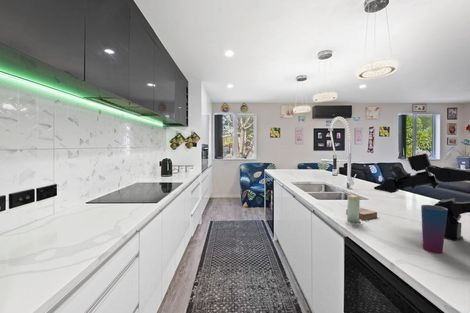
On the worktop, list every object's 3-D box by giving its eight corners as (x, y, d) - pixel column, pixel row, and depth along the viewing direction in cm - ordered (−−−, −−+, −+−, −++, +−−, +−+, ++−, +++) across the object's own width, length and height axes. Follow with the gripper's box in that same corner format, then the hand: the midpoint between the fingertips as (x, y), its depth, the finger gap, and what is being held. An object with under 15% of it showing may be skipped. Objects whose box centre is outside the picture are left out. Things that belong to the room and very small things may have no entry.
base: (377, 217, 112) (377, 212, 112) (363, 219, 108) (363, 214, 108) (359, 211, 121) (359, 207, 121) (346, 213, 117) (346, 209, 117)
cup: (419, 244, 81) (420, 203, 80) (445, 249, 77) (446, 206, 76) (419, 250, 76) (421, 207, 75) (447, 256, 71) (449, 211, 71)
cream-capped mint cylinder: (361, 221, 106) (362, 196, 106) (354, 222, 104) (354, 197, 103) (352, 217, 111) (352, 194, 110) (344, 219, 109) (345, 195, 108)
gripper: (415, 161, 103) (379, 170, 115) (402, 163, 91) (364, 172, 103) (425, 184, 100) (387, 191, 112) (412, 189, 89) (372, 196, 101)
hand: (378, 187), depth 107 cm, fingers open, 9 cm apart
